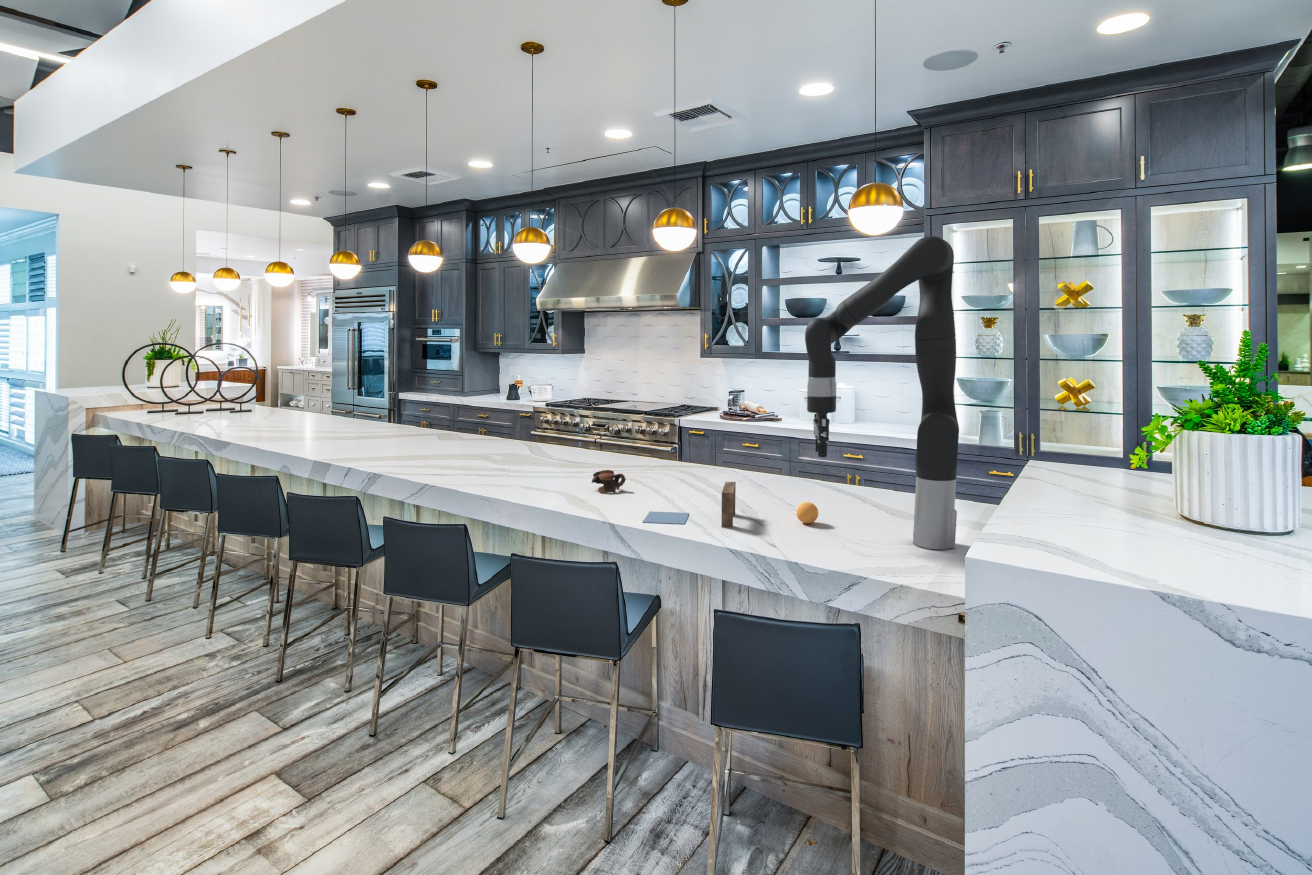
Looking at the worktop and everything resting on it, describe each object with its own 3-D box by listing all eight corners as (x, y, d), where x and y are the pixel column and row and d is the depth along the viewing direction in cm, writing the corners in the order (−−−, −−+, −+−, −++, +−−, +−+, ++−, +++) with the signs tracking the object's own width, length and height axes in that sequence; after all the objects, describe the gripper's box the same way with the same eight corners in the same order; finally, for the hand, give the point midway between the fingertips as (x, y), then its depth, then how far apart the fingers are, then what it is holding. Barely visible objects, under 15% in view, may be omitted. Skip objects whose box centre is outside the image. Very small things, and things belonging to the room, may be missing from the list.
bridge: (735, 513, 203) (735, 481, 202) (732, 527, 188) (732, 493, 187) (725, 513, 204) (725, 481, 202) (721, 527, 189) (721, 492, 188)
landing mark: (689, 513, 204) (689, 512, 204) (684, 524, 192) (684, 523, 192) (649, 512, 206) (649, 511, 206) (642, 522, 194) (642, 521, 194)
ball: (817, 520, 195) (817, 500, 194) (818, 526, 189) (819, 505, 188) (795, 520, 196) (796, 499, 195) (796, 525, 190) (797, 504, 189)
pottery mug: (590, 495, 231) (587, 472, 234) (598, 501, 240) (595, 479, 242) (624, 487, 229) (620, 464, 232) (631, 493, 238) (627, 471, 241)
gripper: (839, 396, 175) (838, 458, 177) (833, 392, 189) (832, 450, 191) (809, 396, 176) (808, 458, 178) (805, 392, 190) (804, 450, 192)
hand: (820, 454), depth 184 cm, fingers open, 8 cm apart
